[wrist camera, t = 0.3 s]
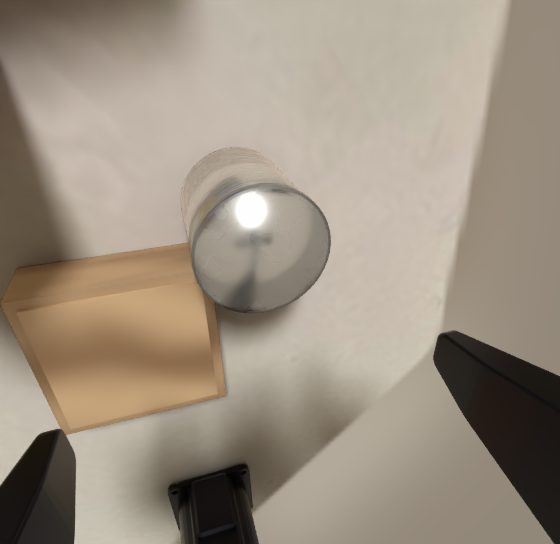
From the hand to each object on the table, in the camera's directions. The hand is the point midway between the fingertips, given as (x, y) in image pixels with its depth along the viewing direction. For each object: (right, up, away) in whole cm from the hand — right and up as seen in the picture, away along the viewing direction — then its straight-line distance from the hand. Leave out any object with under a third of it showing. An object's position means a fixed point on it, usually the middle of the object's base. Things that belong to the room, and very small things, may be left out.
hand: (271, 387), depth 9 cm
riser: (-8, 0, +14) cm, 16 cm away
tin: (-2, +6, +12) cm, 14 cm away
